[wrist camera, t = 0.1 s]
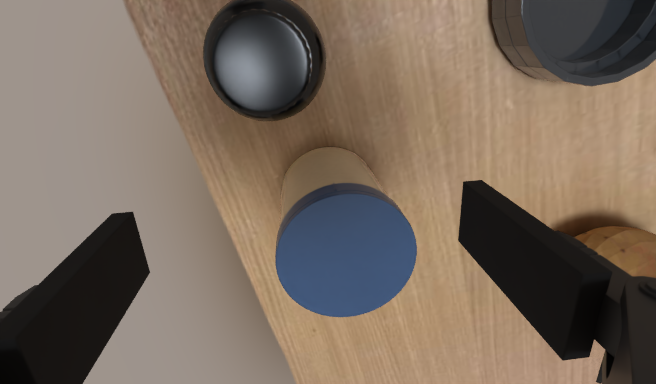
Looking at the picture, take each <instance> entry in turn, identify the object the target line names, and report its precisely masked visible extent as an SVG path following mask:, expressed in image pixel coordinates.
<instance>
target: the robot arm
mask: <svg viewBox="0 0 656 384" xmlns="http://www.w3.org/2000/svg"><path fill="white" fill-rule="evenodd" d="M458 241H459V242H460V243H461V244H462V246H463V247H464V248H465V249H466V250H467V251H468V252H469V254H470V255H471V256H472V257H473V258H474V259H475V260H476V262H477V263H478V264H479V265H480V266H481V267H482V268H483V270H484V271H485V272H486V273H487V274H488V275H489V277H490V278H491V279H492V280H493V281H494V282H495V283H496V285H497V286H498V287H499V288H500V289H501V290H502V291H503V293H504V294H505V295H506V296H507V297H508V298H509V299H510V301H511V302H512V303H513V304H514V305H515V306H516V308H517V309H518V310H519V311H520V312H521V313H522V314H523V316H524V317H525V318H526V319H527V320H528V321H529V322H530V324H531V325H532V326H533V327H534V328H535V329H536V330H537V332H538V333H539V334H540V335H541V336H542V337H543V339H544V340H545V341H546V342H547V343H548V344H549V345H550V347H551V348H552V349H553V350H554V351H555V352H556V353H557V355H558V356H559V357H560V358H561V359H562V360H570V359H578V358H585V357H589V356H590V352H591V348H592V345H593V341H594V339H595V340H596V341H597V342H598V343H599V344H600V345H601V346H602V347H603V348H604V349H605V353H604V357H603V360H602V364H601V367H600V370H599V374H598V377H597V381H596V382H598V383H602V384H656V278H654V277H647V276H631V275H630V274H628V273H627V272H625V271H624V270H622V269H621V268H619V267H618V266H616V265H615V264H614V263H612V262H611V261H609V260H608V259H606V258H605V257H603V256H602V255H598V253H597V252H596V251H594V250H593V249H591V248H588V247H587V245H585V244H584V243H582V242H581V241H579V240H578V239H576V238H575V237H572V236H570V235H567V234H565V233H563V232H560V231H554V230H552V229H551V228H549V227H548V226H546V225H545V224H544V223H542V222H541V221H539V220H538V219H536V218H535V217H534V216H532V215H531V214H529V213H528V212H526V211H525V210H524V209H522V208H521V207H519V206H518V205H516V204H515V203H513V202H512V201H511V200H509V199H508V198H506V197H505V196H503V195H502V194H501V193H499V192H498V191H496V190H495V189H493V188H492V187H491V186H489V185H488V184H486V183H485V182H483V181H482V180H477V181H466V182H463V192H462V204H461V215H460V227H459V239H458ZM149 273H150V271H149V267H148V264H147V260H146V257H145V253H144V249H143V246H142V243H141V239H140V235H139V232H138V228H137V225H136V221H135V218H134V214H133V212H125V213H114V214H111V215H110V216H109V217H108V218H107V219H106V220H105V221H104V222H103V223H102V224H101V225H100V226H99V227H98V228H97V229H96V230H95V231H94V232H93V233H92V234H91V235H90V236H89V237H87V238H86V239H85V240H84V241H83V242H82V243H81V244H80V245H79V246H78V247H77V248H76V249H75V250H74V251H73V252H72V253H71V254H70V255H69V256H68V257H67V258H66V259H65V260H64V261H63V262H62V263H60V264H59V265H58V266H57V267H56V268H55V269H54V270H53V271H52V272H51V273H50V274H49V275H48V276H47V277H46V278H45V279H44V280H43V281H42V282H41V283H40V284H39V285H35V286H33V287H32V288H30V289H28V290H27V291H25V292H24V293H22V294H20V295H18V296H17V297H15V299H14V300H12V301H11V302H10V303H9V304H8V305H7V306H6V307H5V308H4V309H3V311H2V312H0V384H83V382H84V380H85V379H86V377H87V376H88V374H89V372H90V370H91V369H92V367H93V365H94V364H95V362H96V361H97V359H98V357H99V356H100V354H101V352H102V351H103V349H104V347H105V346H106V344H107V342H108V341H109V339H110V338H111V336H112V334H113V333H114V331H115V329H116V328H117V326H118V324H119V323H120V321H121V319H122V318H123V316H124V314H125V313H126V311H127V309H128V308H129V306H130V304H131V303H132V301H133V300H134V298H135V296H136V295H137V293H138V291H139V290H140V288H141V286H142V285H143V283H144V281H145V280H146V278H147V276H148V275H149Z"/></svg>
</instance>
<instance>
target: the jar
mask: <svg viewBox="0 0 656 384" xmlns="http://www.w3.org/2000/svg"><path fill="white" fill-rule="evenodd" d="M333 183H335V184H337V183H357V184H363V185H367V186H370V187H372V188H375V189H377V190H379V191H381V192H382V193H384V194H386V195H387V193H386V192H385V190H384V189H383V187H382V186H381V184H380V183H379V181H378V180H377V178H376V177H375V175H374V174H373V172H372V171H371V169H370V168H369V166H368V165H367V164H366V162H365V161H364V160H363V159H362V158H360V157H359V156H358V155H356V154H355V153H353V152H351V151H349V150H346V149H343V148H338V147H322V148H318V149H314V150H312V151H309V152H307V153H305V154H303V155H302V156H301V157H299V158H298V159H297V160H296V161H295V162H294V163H293V164H292V165H291V166H290V167H289V169H288V171H287V172H286V174H285V176H284V179H283V182H282V188H281V204H280V225H281V223H282V221H283V219H284V217H285V215H286V214H287V212H288V211H289V210H290V209H291V207H292V206H293V205H294V204H295V203H296V202H297V201H298V200H300V199H301V198H302V197H304V196H305V195H307V194H308V193H310V192H312V191H314V190H316V189H318V188H321V187H323V186H327V185H331V184H333ZM387 196H388V195H387ZM388 197H389V196H388ZM280 225H279V228H280Z"/></svg>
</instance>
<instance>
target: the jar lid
mask: <svg viewBox="0 0 656 384" xmlns="http://www.w3.org/2000/svg"><path fill="white" fill-rule="evenodd" d="M416 255H417V245H416V239H415V235H414V232H413V230H412V227H411V225H410V223H409V222H408V220H407V219H406V218H405V216H404V215H403V213H402V212H401V210H400V209H399V207H398V206H397V205H396V204H395V202H394V201H393V200H392V199H391V198H389V197H388V196H387V195H386V194H384V193H382V192H381V191H379V190H377V189H375V188H372V187H370V186H367V185H363V184H357V183H337V184H335V183H333V184H331V185H327V186H323V187H321V188H318V189H316V190H314V191H312V192H310V193H308V194H307V195H305V196H304V197H302V198H301V199H300V200H298V201H297V202H296V203H295V204H294V205H293V206H292V207H291V209H290V210H289V211H288V212H287V214H286V215H285V217H284V219H283V221H282V223H281V225H280V228H279V231H278V235H277V242H276V270H277V274H278V277H279V280H280V282H281V284H282V286H283V288H284V289H285V291H286V292H287V293H288V295H289V296H290V297H291V298H292V299H293V300H294V301H296V302H297V303H298V304H299V305H301V306H302V307H304V308H306V309H308V310H310V311H312V312H315V313H318V314H321V315H326V316H332V317H349V316H356V315H360V314H364V313H367V312H370V311H373V310H375V309H377V308H379V307H381V306H382V305H384V304H386V303H387V302H389V301H390V300H391V299H392V298H394V297H395V296H396V295H397V294H398V293H399V292H400V291H401V290H402V288H403V287H404V286H405V284H406V283H407V281H408V280H409V278H410V276H411V274H412V271H413V269H414V265H415V261H416Z"/></svg>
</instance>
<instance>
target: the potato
mask: <svg viewBox="0 0 656 384" xmlns="http://www.w3.org/2000/svg"><path fill="white" fill-rule="evenodd" d="M575 238H576V239H578V240H579V241H581V242H582V243H584V244H585V245H587V247H588V248H591V249H593V250H594V251H596V252H597V253H598V255H602V256H603V257H605V258H606V259H608V260H609V261H611V262H612V263H614V264H615V265H616V266H618V267H619V268H621V269H622V270H624V271H625V272H627V273H628V274H630V275H631V276H647V277H654V278H656V235H655V234H653V233H650V232H648V231H645V230H641V229H637V228H632V227H617V226H608V227H600V228H596V229H593V230H590V231H588V232H585V233H582V234H580V235H577V236H575Z"/></svg>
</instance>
